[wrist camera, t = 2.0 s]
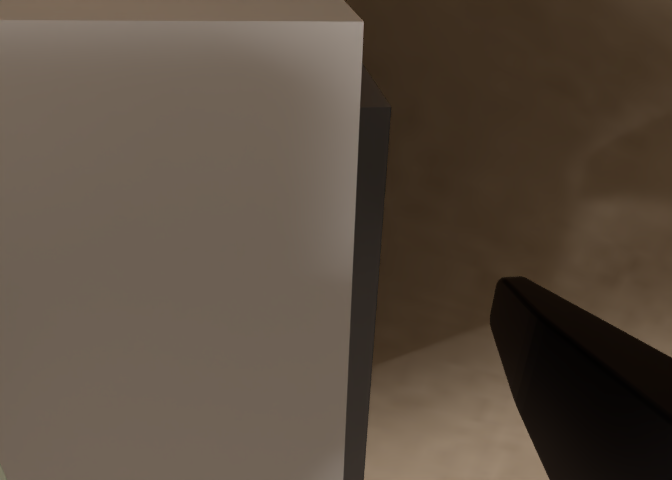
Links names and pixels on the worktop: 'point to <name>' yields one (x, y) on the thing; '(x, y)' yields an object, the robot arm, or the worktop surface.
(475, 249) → the worktop surface
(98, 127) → the white rectangular prism
